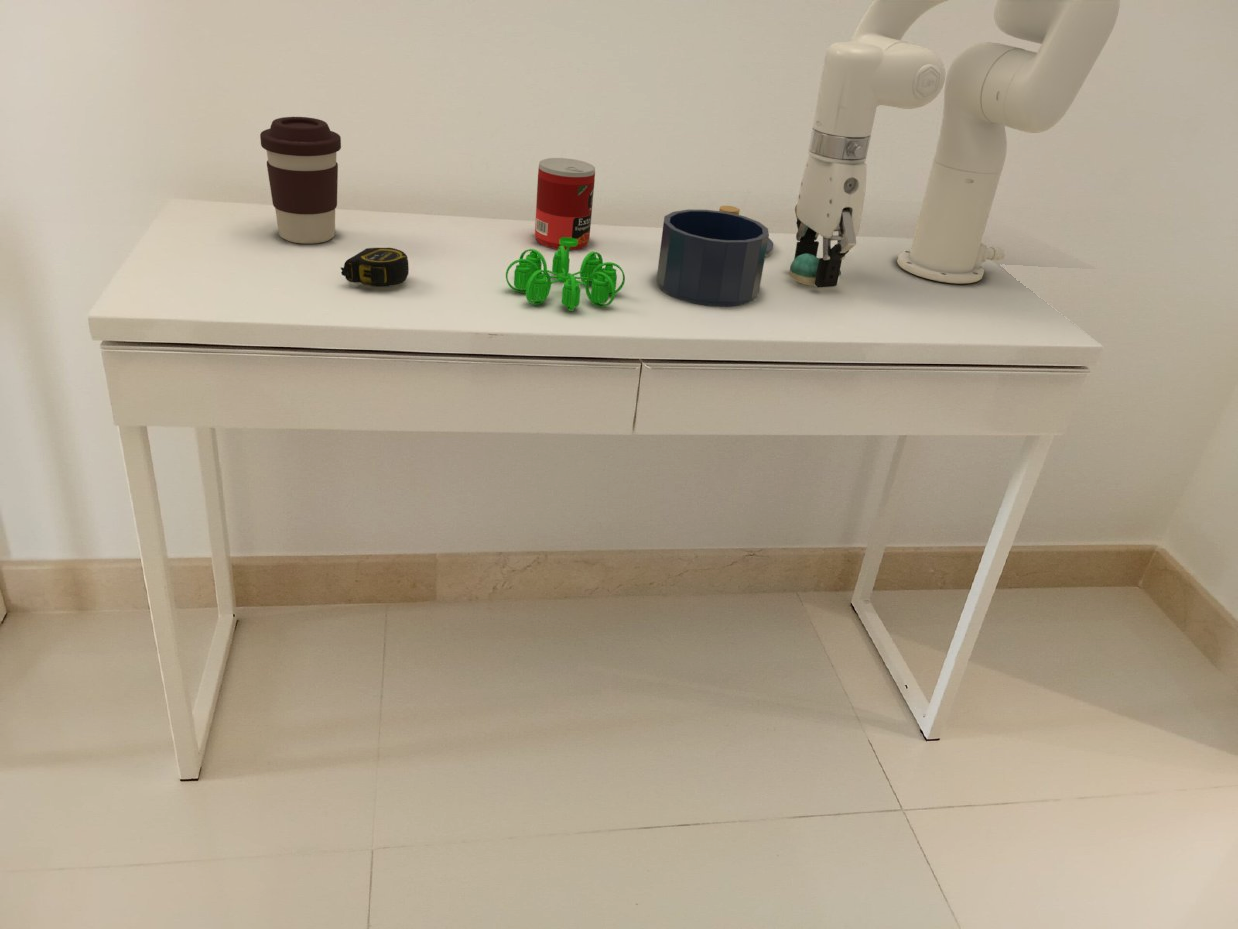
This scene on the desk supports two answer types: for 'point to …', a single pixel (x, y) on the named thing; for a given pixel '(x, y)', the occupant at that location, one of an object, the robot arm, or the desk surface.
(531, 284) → the chandelier
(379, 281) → the tape measure
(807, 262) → the whale figurine
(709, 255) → the tin
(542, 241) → the canned food
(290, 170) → the coffee cup
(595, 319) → the desk surface
